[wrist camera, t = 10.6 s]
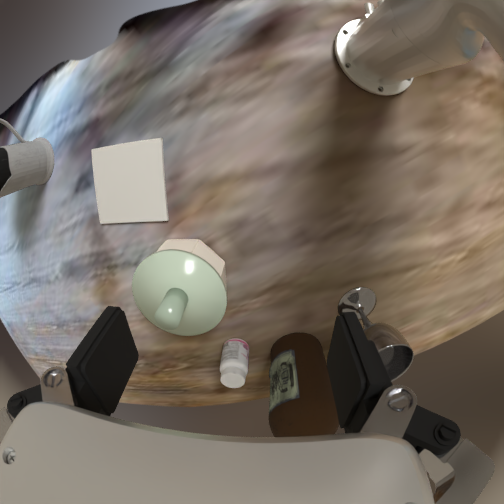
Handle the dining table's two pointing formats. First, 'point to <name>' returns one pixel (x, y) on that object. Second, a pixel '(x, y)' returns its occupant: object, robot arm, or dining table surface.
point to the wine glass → (379, 332)
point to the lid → (179, 292)
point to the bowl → (198, 253)
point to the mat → (130, 182)
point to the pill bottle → (234, 363)
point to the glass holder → (24, 163)
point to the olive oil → (300, 389)
